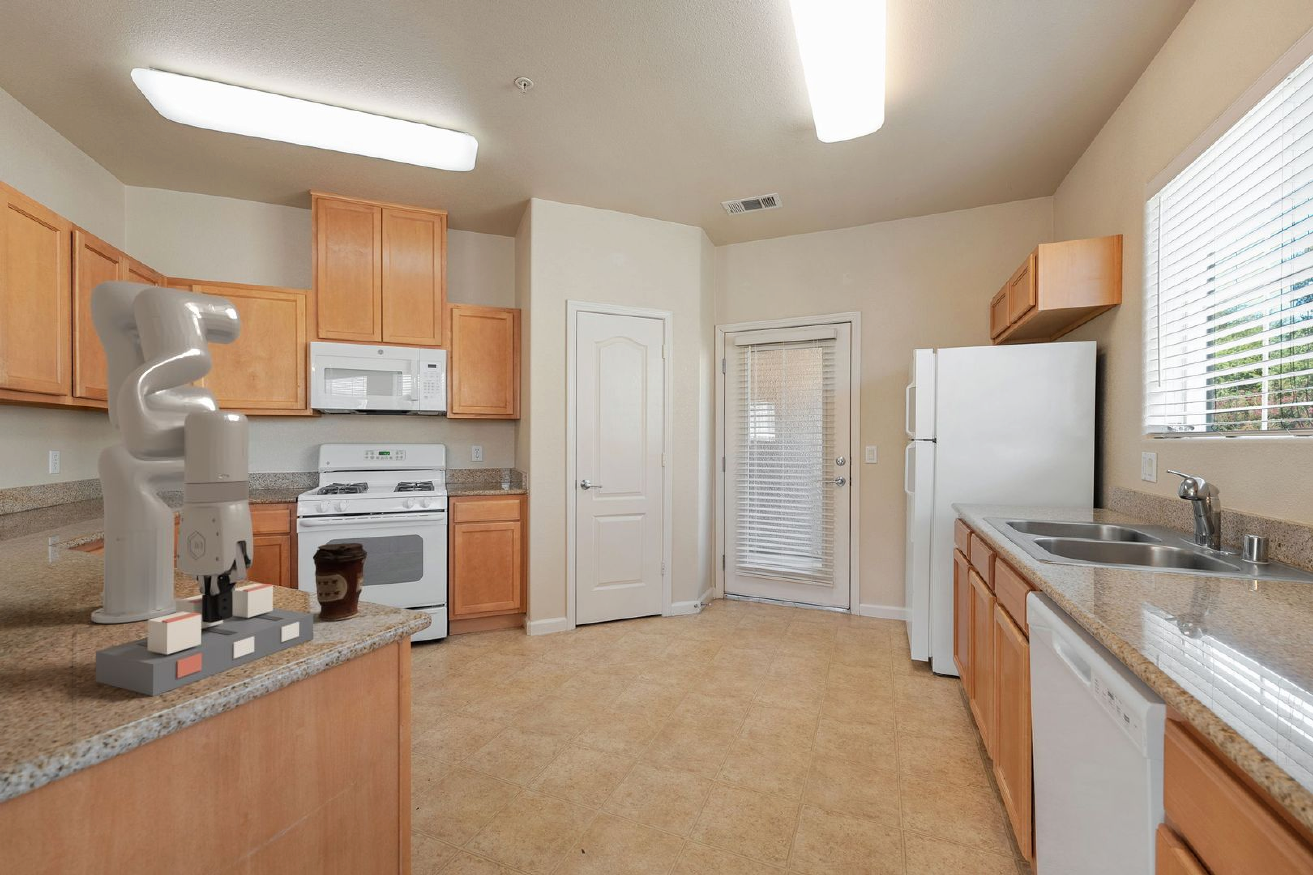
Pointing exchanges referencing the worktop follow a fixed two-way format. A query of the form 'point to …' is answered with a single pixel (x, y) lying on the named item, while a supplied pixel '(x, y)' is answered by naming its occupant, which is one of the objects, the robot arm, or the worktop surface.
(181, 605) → the white red-striped block
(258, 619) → the console
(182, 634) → the white box
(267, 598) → the white red-striped block
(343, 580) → the coffee cup
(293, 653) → the worktop surface
